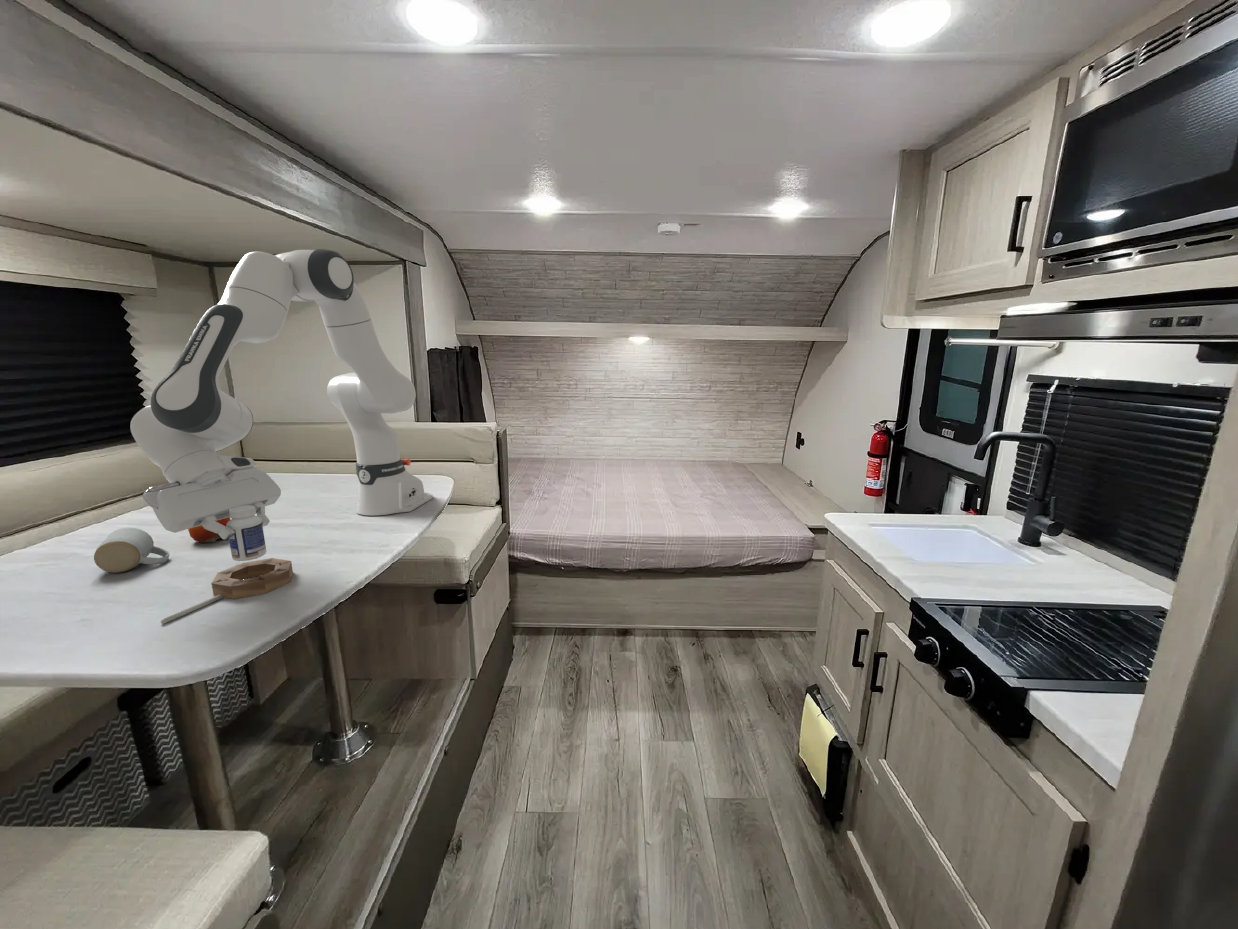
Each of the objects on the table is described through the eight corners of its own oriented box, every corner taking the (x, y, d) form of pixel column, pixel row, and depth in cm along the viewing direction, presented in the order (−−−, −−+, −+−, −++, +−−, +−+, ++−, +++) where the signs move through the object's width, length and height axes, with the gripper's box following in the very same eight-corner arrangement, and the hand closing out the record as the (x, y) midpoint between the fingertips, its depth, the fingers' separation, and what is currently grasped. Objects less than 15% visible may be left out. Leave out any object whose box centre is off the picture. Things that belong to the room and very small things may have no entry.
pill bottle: (271, 549, 98) (263, 503, 96) (260, 560, 93) (252, 510, 91) (239, 552, 97) (231, 505, 95) (227, 563, 92) (218, 513, 90)
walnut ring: (261, 567, 104) (259, 556, 103) (306, 574, 100) (304, 562, 100) (199, 593, 92) (197, 580, 92) (247, 601, 89) (245, 589, 88)
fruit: (215, 541, 114) (195, 512, 113) (195, 555, 116) (175, 527, 116) (247, 529, 122) (229, 502, 121) (228, 543, 124) (209, 516, 123)
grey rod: (219, 598, 90) (218, 594, 90) (222, 598, 90) (221, 594, 90) (159, 624, 82) (159, 620, 81) (163, 625, 81) (162, 620, 81)
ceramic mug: (94, 578, 98) (86, 542, 97) (109, 563, 105) (102, 529, 104) (164, 568, 104) (158, 533, 102) (174, 554, 111) (168, 522, 109)
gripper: (143, 478, 83) (194, 539, 83) (259, 456, 103) (302, 505, 102) (130, 501, 86) (180, 560, 85) (246, 475, 105) (288, 523, 104)
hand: (248, 530), depth 94 cm, fingers closed on pill bottle, 5 cm apart
